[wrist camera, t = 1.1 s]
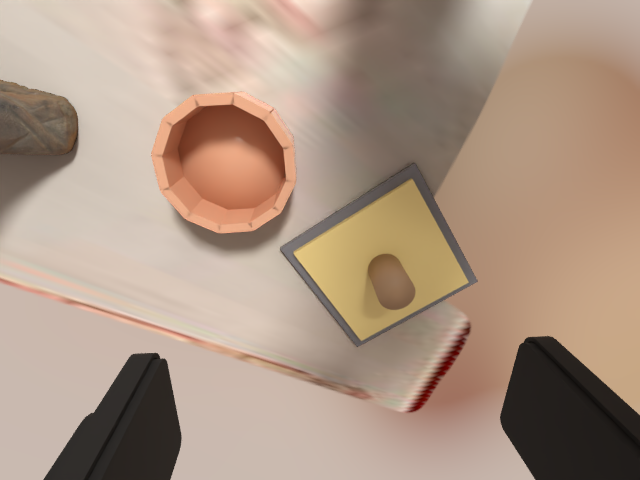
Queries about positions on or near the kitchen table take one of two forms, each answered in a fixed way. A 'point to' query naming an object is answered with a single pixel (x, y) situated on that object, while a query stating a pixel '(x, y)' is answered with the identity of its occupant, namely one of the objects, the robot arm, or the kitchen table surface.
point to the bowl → (225, 161)
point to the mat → (354, 207)
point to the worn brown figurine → (35, 121)
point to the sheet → (374, 238)
